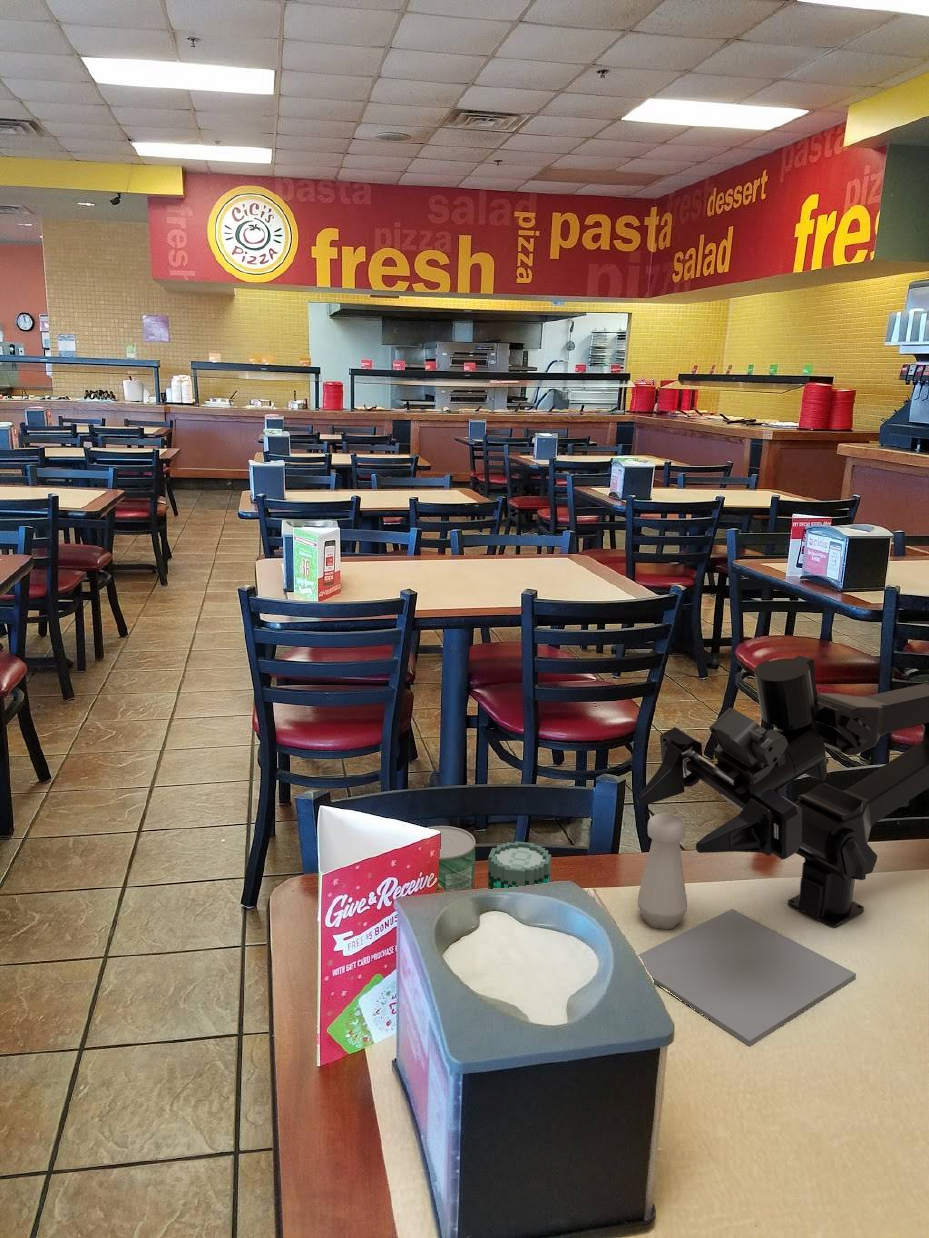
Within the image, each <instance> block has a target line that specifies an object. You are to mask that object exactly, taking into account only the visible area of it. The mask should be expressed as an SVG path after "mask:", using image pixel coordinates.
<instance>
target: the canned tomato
mask: <svg viewBox="0 0 929 1238" xmlns="http://www.w3.org/2000/svg"><path fill="white" fill-rule="evenodd" d="M426 828H429V829H436V830H439V831H440V833H441V849H440V857H439V877H438V886H437V889H436V892H448V891H457V890H467V889H475V890H476V843H477V842H476V839H475V837H474V835H473V834H472V833H470V832H469V831H467V830H465V829H463V828H458V827H455V826H448V825H435V826H427V827H426Z"/></svg>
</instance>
